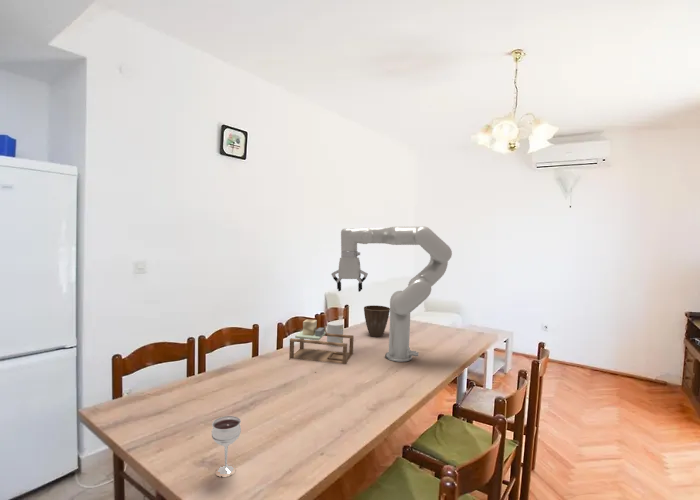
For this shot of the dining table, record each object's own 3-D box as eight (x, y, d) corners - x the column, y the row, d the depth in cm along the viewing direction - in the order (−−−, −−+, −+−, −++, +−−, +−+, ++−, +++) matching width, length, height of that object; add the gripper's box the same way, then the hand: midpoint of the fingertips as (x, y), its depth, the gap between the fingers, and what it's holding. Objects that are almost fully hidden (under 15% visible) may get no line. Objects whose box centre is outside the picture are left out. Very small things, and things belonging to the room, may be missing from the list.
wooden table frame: (352, 356, 179) (353, 335, 178) (345, 367, 164) (346, 344, 164) (300, 351, 184) (301, 330, 184) (289, 361, 170) (289, 339, 169)
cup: (342, 349, 189) (343, 325, 188) (326, 348, 189) (326, 325, 188) (343, 344, 197) (343, 321, 196) (327, 344, 197) (328, 321, 197)
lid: (325, 333, 179) (325, 326, 179) (318, 340, 168) (318, 332, 168) (303, 331, 182) (303, 324, 181) (295, 338, 171) (295, 330, 170)
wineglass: (220, 484, 87) (220, 433, 86) (205, 471, 91) (206, 422, 91) (245, 470, 92) (246, 422, 91) (230, 459, 96) (231, 413, 96)
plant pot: (361, 331, 223) (362, 305, 223) (386, 332, 225) (387, 305, 224) (364, 339, 209) (365, 310, 208) (391, 339, 210) (392, 310, 209)
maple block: (316, 332, 177) (316, 320, 177) (313, 335, 172) (313, 322, 172) (306, 331, 178) (306, 319, 178) (302, 334, 173) (303, 321, 173)
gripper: (368, 254, 180) (369, 290, 181) (333, 254, 183) (333, 289, 184) (366, 255, 173) (366, 292, 173) (329, 255, 176) (329, 291, 177)
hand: (349, 291), depth 179 cm, fingers open, 9 cm apart
